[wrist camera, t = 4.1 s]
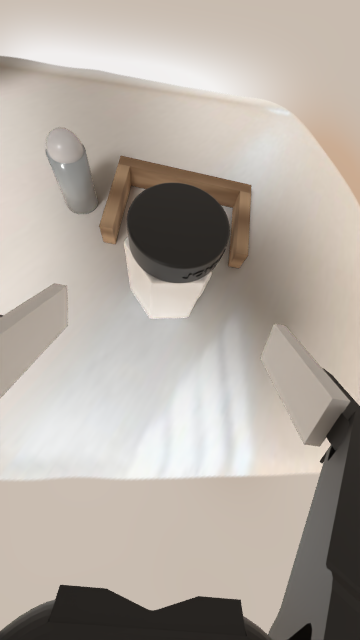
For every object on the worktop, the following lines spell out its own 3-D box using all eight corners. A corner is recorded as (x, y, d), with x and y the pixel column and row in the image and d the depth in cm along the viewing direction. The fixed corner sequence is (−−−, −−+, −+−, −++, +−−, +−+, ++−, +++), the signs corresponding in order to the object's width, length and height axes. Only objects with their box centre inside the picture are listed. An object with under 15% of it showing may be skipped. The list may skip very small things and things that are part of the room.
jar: (181, 335, 28) (204, 291, 17) (119, 303, 28) (102, 240, 17) (210, 276, 31) (247, 206, 20) (155, 248, 31) (160, 163, 20)
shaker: (64, 192, 32) (34, 118, 24) (94, 188, 33) (76, 116, 25) (69, 216, 31) (40, 147, 23) (100, 211, 32) (84, 144, 24)
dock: (239, 268, 32) (247, 255, 29) (103, 241, 31) (99, 225, 28) (243, 201, 36) (251, 185, 33) (122, 175, 34) (120, 155, 32)
